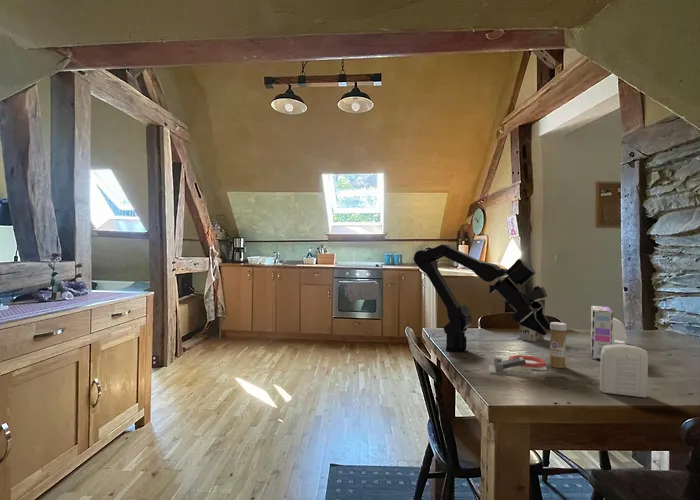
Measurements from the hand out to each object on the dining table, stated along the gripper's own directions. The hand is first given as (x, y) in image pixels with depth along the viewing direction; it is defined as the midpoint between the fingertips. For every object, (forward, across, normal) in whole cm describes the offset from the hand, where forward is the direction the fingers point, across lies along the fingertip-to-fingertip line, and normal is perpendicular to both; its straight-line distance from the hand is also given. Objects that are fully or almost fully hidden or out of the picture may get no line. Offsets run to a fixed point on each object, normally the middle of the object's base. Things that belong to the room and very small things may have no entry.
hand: (548, 332), depth 127 cm
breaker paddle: (-1, -16, +14) cm, 21 cm away
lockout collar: (+3, -4, +11) cm, 12 cm away
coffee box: (-1, +36, +16) cm, 40 cm away
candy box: (+16, +24, -1) cm, 29 cm away
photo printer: (+22, -16, -7) cm, 28 cm away
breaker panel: (+2, -15, +12) cm, 20 cm away
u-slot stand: (+18, +43, -2) cm, 47 cm away
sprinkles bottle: (+9, 0, +6) cm, 11 cm away
